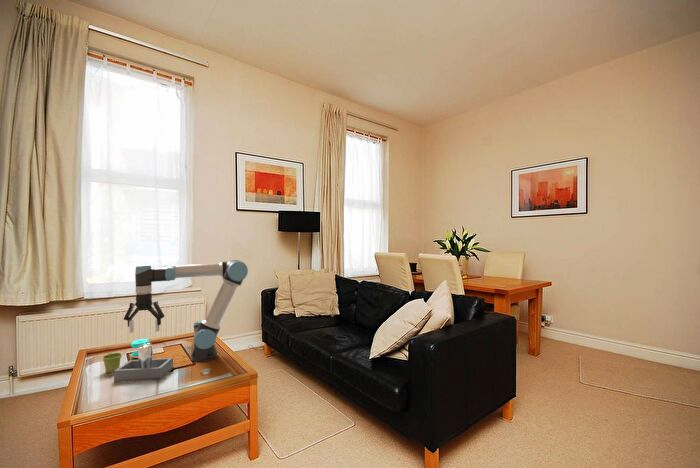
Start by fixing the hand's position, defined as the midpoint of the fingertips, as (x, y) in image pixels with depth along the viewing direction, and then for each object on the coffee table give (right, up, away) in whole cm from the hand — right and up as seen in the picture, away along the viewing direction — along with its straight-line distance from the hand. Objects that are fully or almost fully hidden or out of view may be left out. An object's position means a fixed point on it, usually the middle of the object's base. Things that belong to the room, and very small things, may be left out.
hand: (144, 331), depth 182 cm
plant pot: (-22, -24, +7) cm, 34 cm away
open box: (0, -24, 0) cm, 24 cm away
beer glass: (+1, -23, 0) cm, 23 cm away
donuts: (-20, -25, +29) cm, 43 cm away
